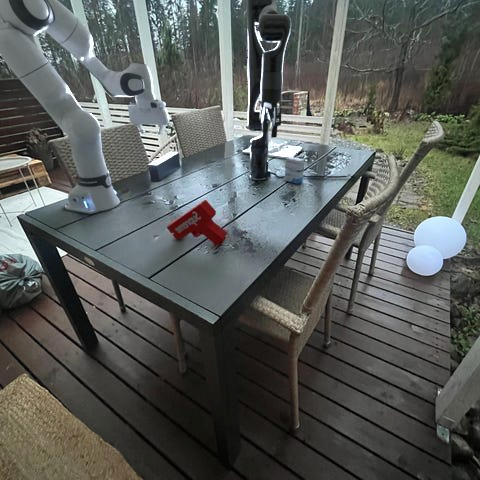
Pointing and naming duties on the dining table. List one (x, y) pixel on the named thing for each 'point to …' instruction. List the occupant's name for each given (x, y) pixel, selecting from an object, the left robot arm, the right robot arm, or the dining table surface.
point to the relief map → (280, 150)
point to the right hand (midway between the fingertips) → (269, 135)
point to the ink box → (294, 170)
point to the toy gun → (198, 224)
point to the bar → (164, 166)
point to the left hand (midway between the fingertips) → (151, 133)
